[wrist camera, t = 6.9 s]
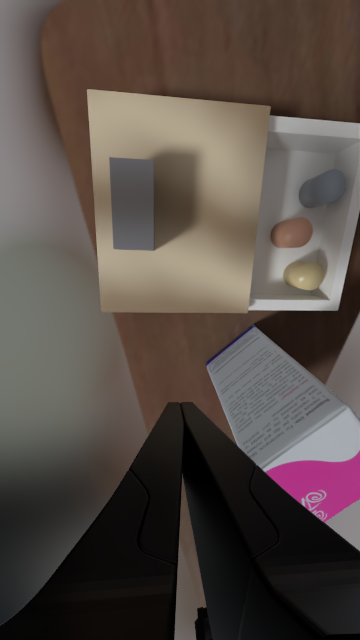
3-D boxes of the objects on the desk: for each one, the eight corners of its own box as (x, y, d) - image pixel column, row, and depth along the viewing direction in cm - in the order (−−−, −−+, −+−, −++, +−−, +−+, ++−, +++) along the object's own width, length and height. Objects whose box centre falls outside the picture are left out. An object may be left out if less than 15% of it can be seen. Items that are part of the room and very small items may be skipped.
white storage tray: (313, 302, 21) (337, 310, 18) (202, 301, 20) (209, 309, 17) (342, 145, 18) (378, 125, 15) (211, 135, 17) (222, 111, 14)
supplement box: (202, 364, 22) (247, 478, 11) (253, 322, 21) (356, 398, 10) (239, 403, 23) (312, 537, 12) (288, 365, 23) (410, 472, 12)
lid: (243, 310, 17) (266, 325, 14) (103, 309, 16) (88, 325, 13) (264, 114, 14) (301, 66, 10) (91, 98, 13) (65, 40, 10)
